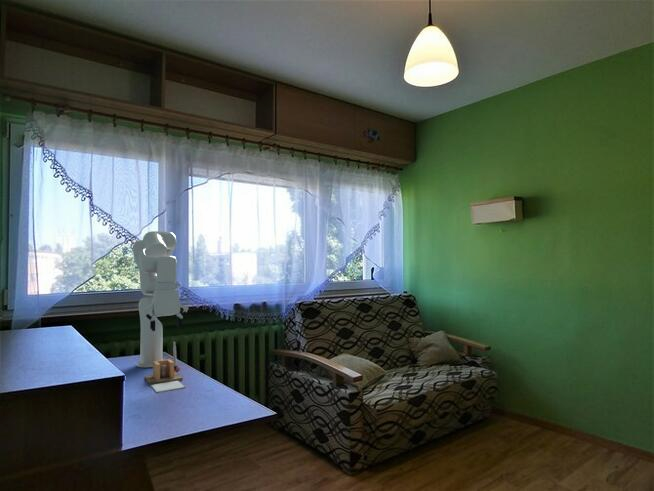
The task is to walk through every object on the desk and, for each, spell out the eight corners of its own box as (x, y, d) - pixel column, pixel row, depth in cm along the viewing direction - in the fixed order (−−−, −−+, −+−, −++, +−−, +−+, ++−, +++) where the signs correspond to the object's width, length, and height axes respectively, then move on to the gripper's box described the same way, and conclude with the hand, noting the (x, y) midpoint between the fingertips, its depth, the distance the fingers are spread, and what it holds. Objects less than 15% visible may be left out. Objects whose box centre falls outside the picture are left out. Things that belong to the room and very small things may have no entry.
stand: (144, 378, 170) (144, 364, 170) (175, 373, 177) (175, 360, 177) (150, 385, 160) (150, 371, 160) (182, 380, 167) (182, 366, 167)
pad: (151, 386, 159) (151, 385, 159) (178, 381, 165) (178, 380, 165) (156, 392, 151) (156, 391, 151) (184, 387, 157) (184, 386, 157)
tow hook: (151, 375, 177) (173, 374, 176) (150, 344, 177) (172, 343, 177) (160, 370, 185) (181, 369, 185) (159, 341, 186) (180, 340, 185)
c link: (152, 376, 170) (153, 361, 170) (169, 373, 173) (169, 359, 173) (156, 380, 164) (156, 364, 164) (174, 377, 167) (174, 362, 168)
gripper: (185, 285, 175) (185, 326, 174) (141, 287, 165) (141, 330, 165) (190, 286, 169) (190, 328, 168) (145, 288, 159) (144, 333, 159)
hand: (166, 329), depth 166 cm, fingers open, 9 cm apart
